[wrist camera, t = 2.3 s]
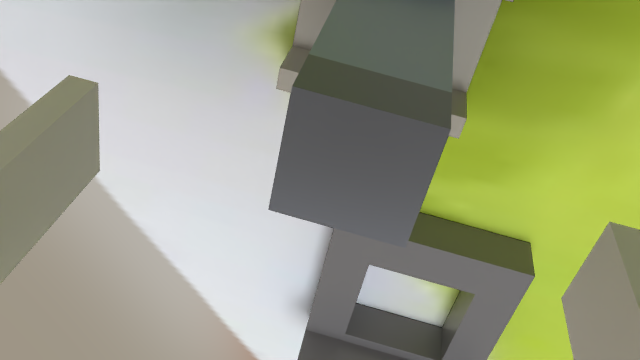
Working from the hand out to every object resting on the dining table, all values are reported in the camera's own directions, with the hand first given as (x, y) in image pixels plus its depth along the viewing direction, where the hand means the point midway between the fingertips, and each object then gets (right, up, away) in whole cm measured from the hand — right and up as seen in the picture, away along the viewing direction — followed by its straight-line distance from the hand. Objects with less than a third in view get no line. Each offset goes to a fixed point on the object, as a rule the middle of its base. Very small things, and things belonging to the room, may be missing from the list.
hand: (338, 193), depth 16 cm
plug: (+3, +7, +10) cm, 13 cm away
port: (+5, -6, +19) cm, 21 cm away
